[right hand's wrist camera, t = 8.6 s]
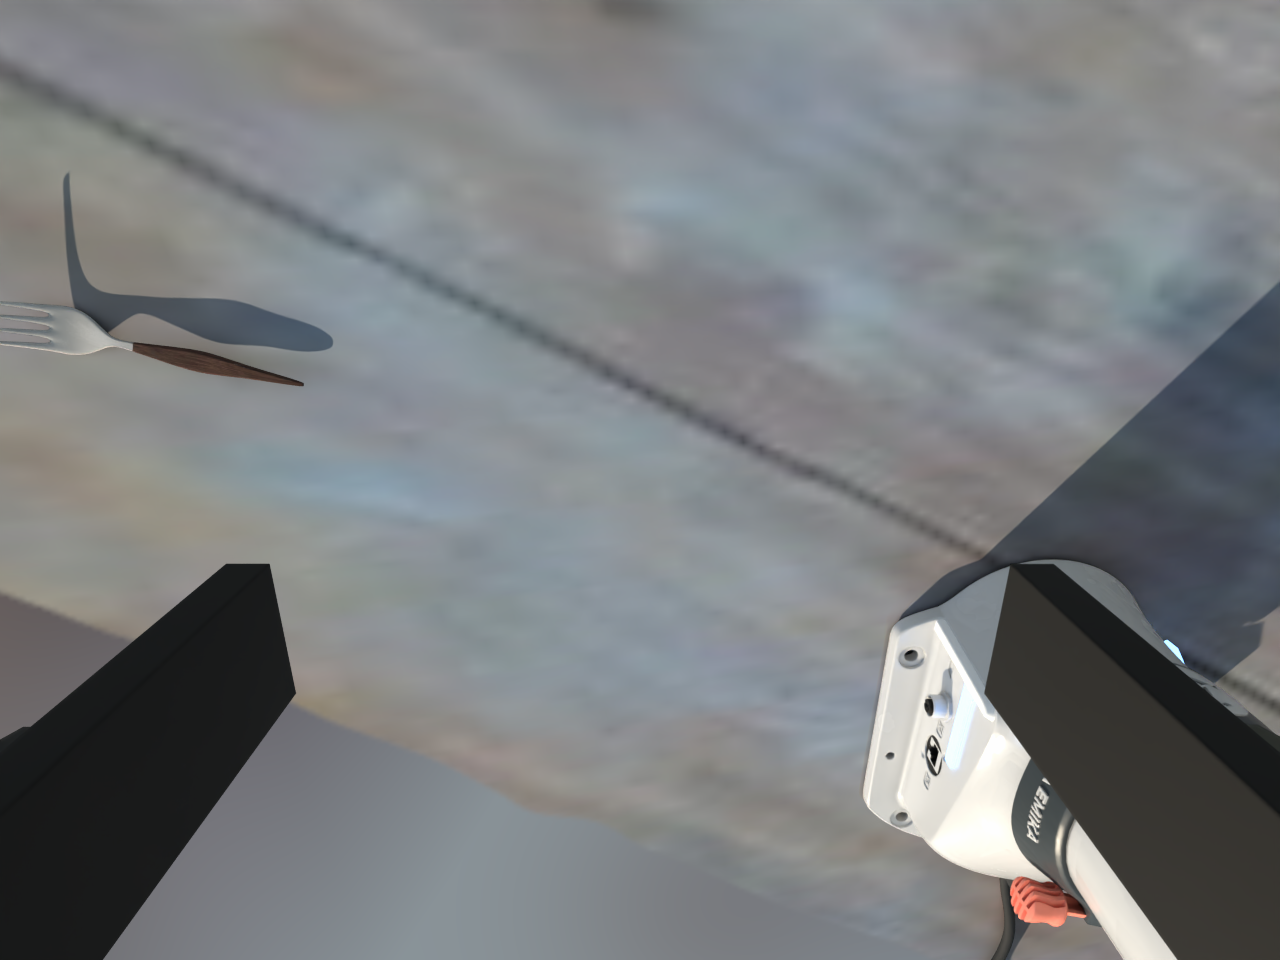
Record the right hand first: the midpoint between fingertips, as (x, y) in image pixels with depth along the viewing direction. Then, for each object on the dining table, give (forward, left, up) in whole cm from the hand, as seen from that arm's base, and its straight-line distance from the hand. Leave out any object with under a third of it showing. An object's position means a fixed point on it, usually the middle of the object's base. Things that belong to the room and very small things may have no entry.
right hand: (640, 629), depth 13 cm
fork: (0, -26, -28) cm, 38 cm away
